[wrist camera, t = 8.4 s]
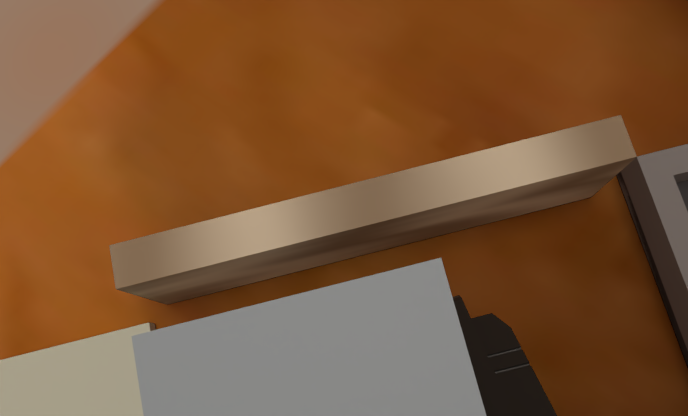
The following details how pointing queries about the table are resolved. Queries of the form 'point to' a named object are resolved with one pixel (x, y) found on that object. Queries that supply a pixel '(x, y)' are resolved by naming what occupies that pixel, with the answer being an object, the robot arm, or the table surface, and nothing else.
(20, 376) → the pad
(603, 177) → the tunnel rails
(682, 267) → the tray
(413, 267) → the grey tall block
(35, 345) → the table surface
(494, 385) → the robot arm
